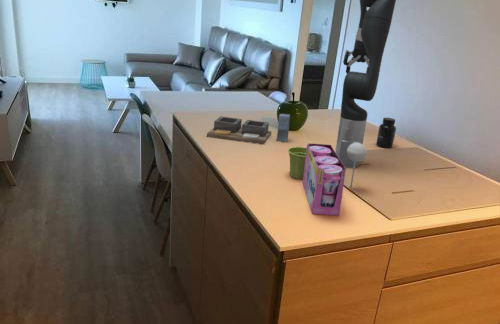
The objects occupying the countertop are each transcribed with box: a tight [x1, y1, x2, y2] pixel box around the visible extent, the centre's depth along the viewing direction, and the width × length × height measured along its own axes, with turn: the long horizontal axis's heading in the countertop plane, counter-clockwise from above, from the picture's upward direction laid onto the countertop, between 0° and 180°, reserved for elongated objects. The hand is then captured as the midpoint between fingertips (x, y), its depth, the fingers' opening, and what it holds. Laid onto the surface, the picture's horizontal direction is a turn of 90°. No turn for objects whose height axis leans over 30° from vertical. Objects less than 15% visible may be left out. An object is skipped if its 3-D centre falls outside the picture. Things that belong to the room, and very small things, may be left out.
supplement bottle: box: [375, 117, 397, 149], centre depth 188 cm, size 7×7×12 cm
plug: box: [276, 113, 291, 143], centre depth 185 cm, size 4×4×11 cm
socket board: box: [206, 116, 272, 145], centre depth 188 cm, size 16×24×6 cm, turn 77°
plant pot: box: [287, 146, 307, 180], centre depth 148 cm, size 9×9×9 cm
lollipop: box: [347, 143, 367, 189], centre depth 140 cm, size 6×6×15 cm
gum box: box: [302, 142, 347, 216], centre depth 130 cm, size 24×8×14 cm, turn 1°
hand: (357, 74), depth 199 cm, fingers open, 8 cm apart
